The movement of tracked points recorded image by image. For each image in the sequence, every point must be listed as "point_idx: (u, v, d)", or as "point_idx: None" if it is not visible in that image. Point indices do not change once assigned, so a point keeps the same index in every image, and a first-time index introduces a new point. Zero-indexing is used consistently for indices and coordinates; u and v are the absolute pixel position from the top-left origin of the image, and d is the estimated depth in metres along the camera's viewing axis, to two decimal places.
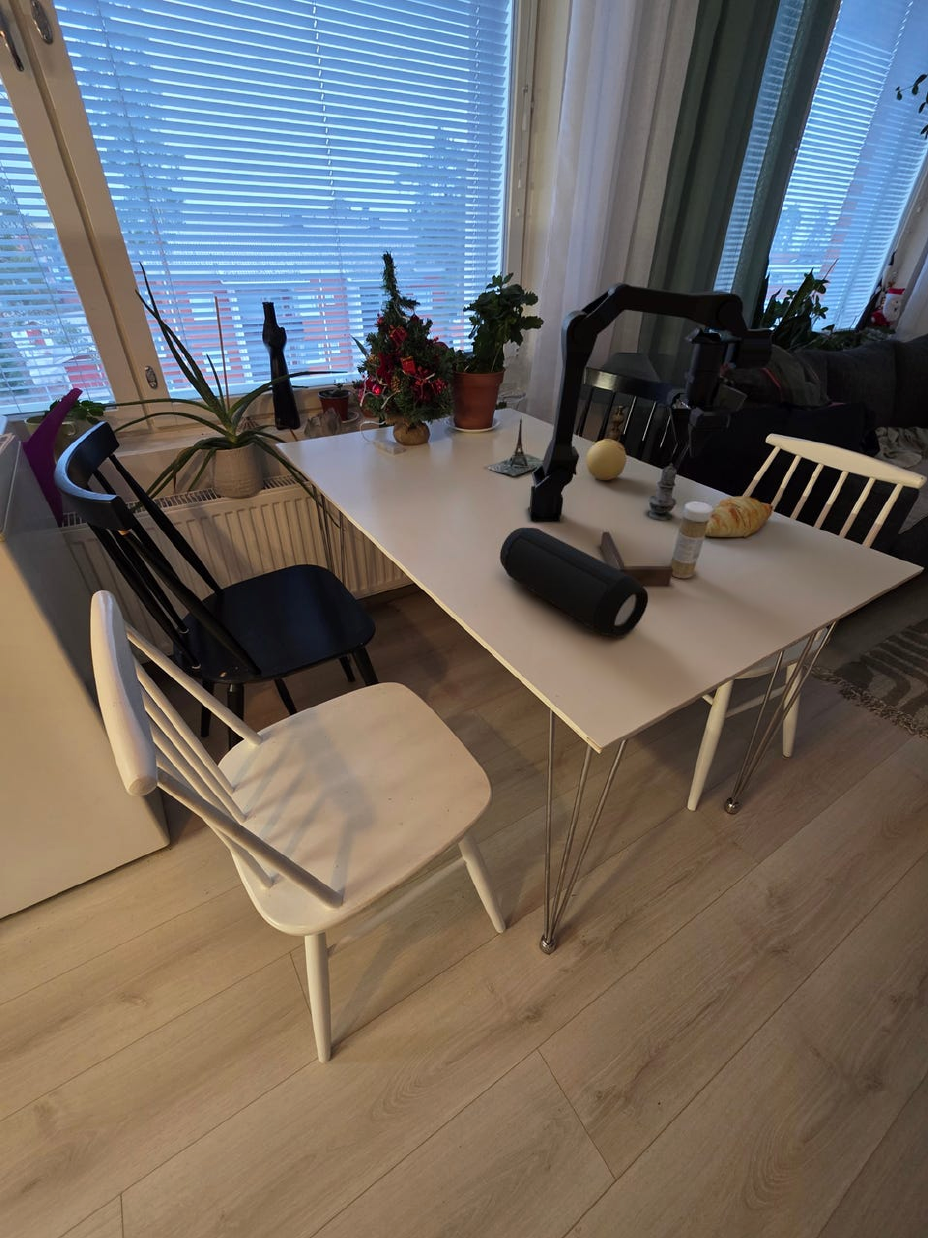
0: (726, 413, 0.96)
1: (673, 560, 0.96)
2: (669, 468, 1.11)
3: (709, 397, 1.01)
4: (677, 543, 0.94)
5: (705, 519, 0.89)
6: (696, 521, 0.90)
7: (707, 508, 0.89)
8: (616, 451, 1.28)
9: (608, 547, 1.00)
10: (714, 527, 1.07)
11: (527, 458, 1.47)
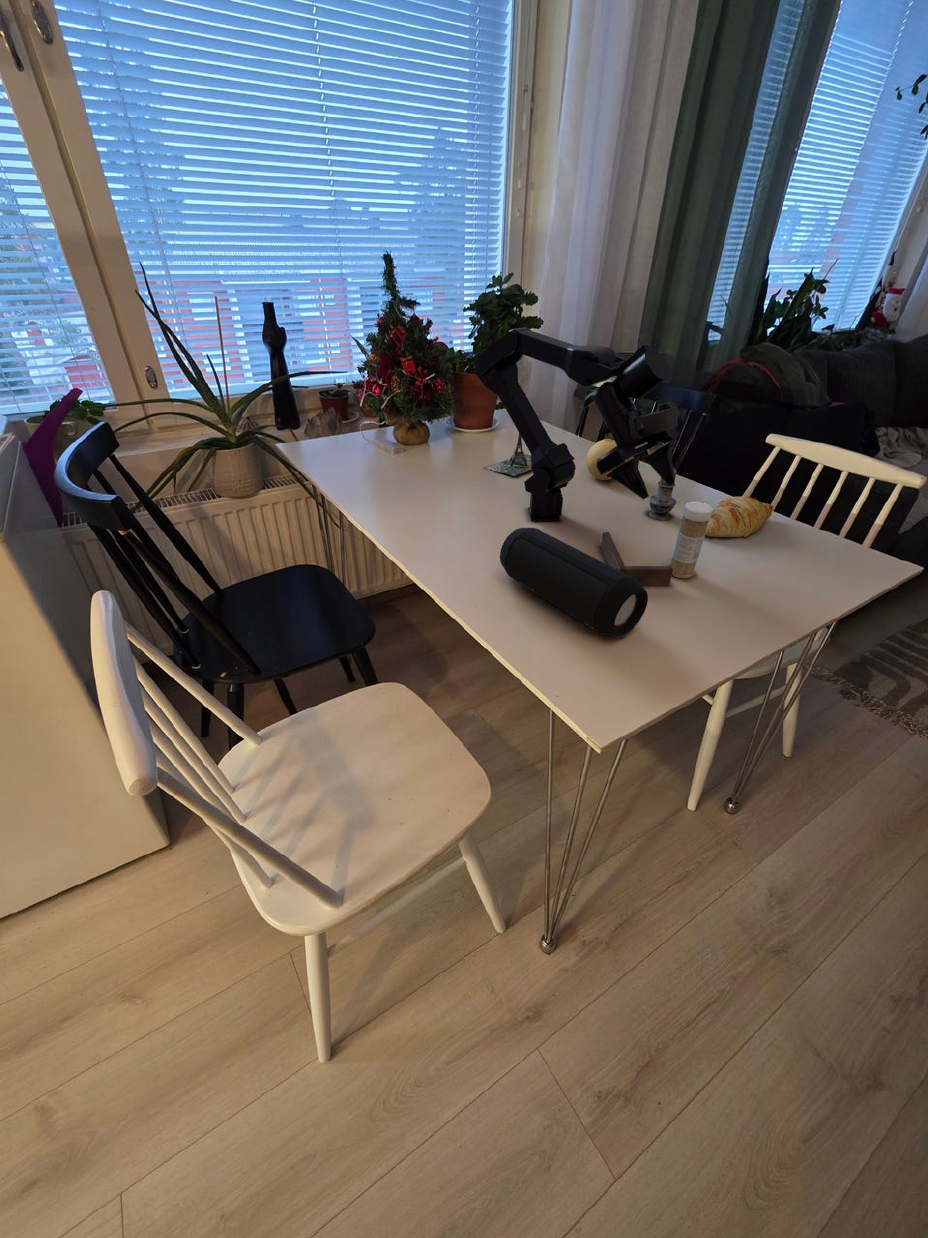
0: (614, 448, 0.88)
1: (673, 560, 0.96)
2: None
3: (626, 437, 0.93)
4: (677, 543, 0.94)
5: (705, 519, 0.89)
6: (696, 521, 0.90)
7: (707, 508, 0.89)
8: None
9: (608, 547, 1.00)
10: (714, 527, 1.07)
11: (527, 458, 1.47)
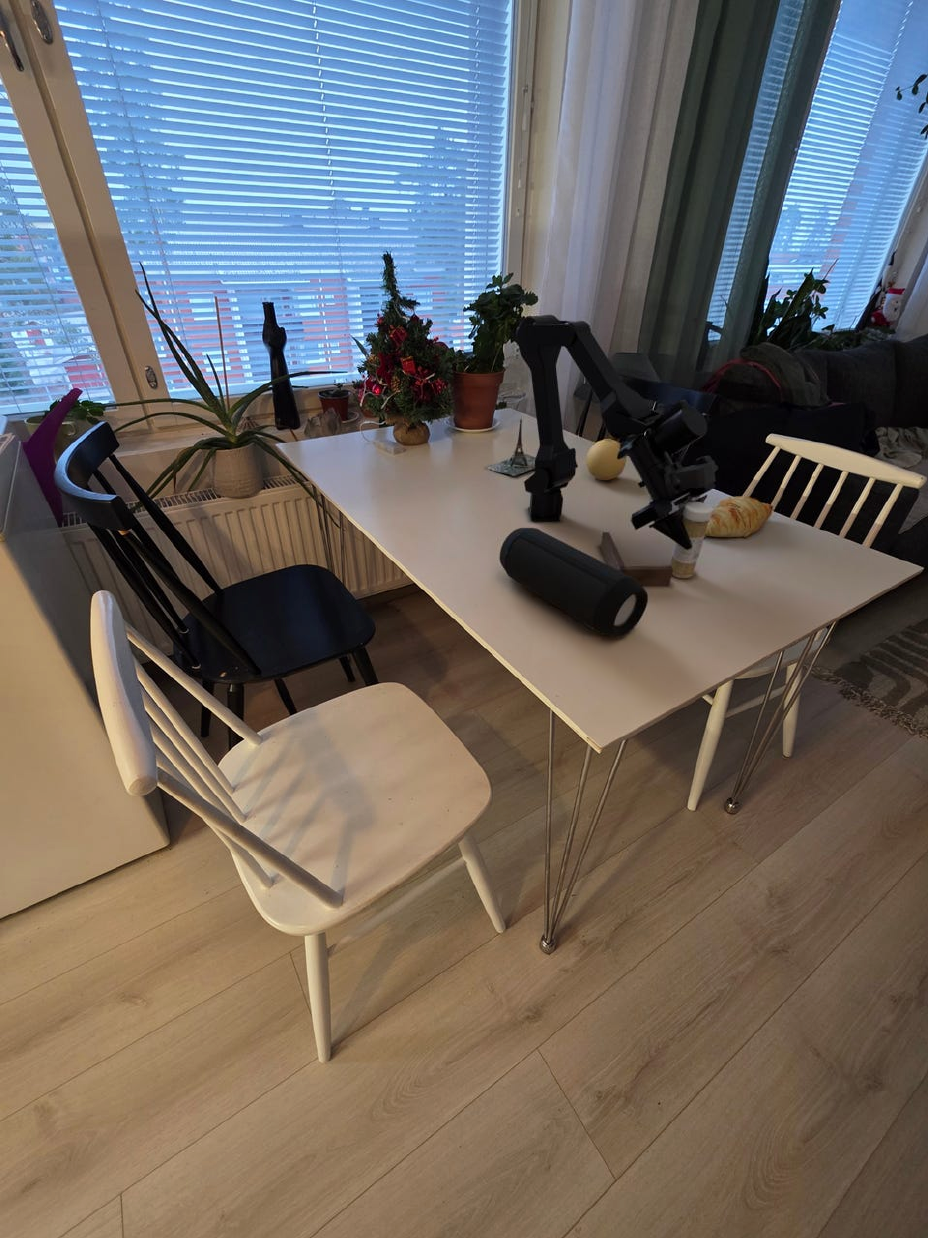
0: (650, 505, 0.87)
1: (673, 560, 0.96)
2: None
3: (661, 491, 0.91)
4: (677, 543, 0.94)
5: (705, 519, 0.89)
6: (696, 521, 0.90)
7: (707, 508, 0.89)
8: (616, 451, 1.28)
9: (608, 547, 1.00)
10: (714, 527, 1.07)
11: (527, 458, 1.47)
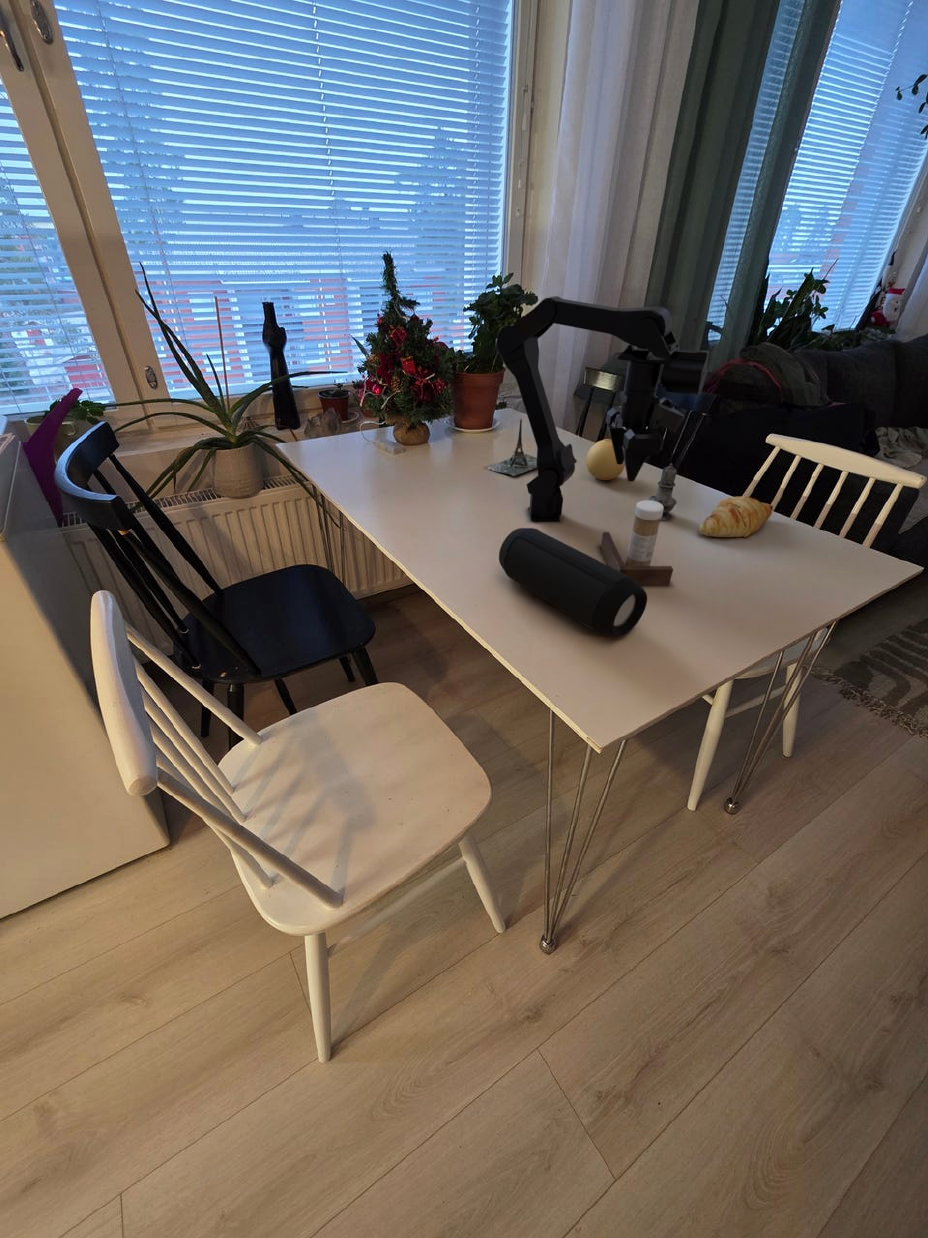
0: (659, 436, 0.91)
1: (628, 558, 0.97)
2: (669, 468, 1.11)
3: (643, 418, 0.95)
4: (631, 541, 0.95)
5: (655, 518, 0.90)
6: (647, 520, 0.90)
7: (658, 507, 0.90)
8: None
9: (608, 547, 1.00)
10: (714, 527, 1.07)
11: (527, 458, 1.47)
